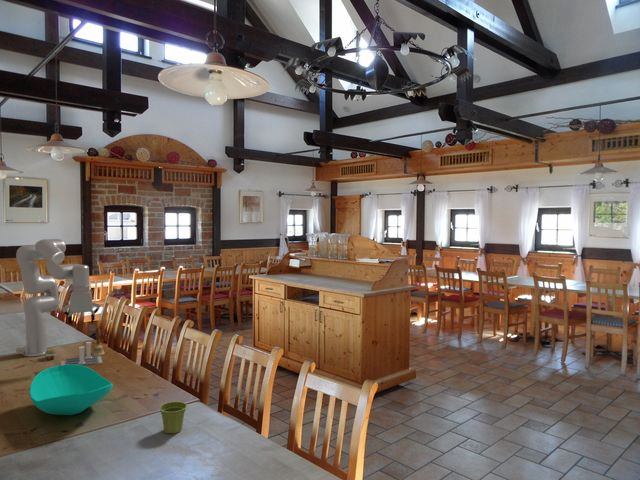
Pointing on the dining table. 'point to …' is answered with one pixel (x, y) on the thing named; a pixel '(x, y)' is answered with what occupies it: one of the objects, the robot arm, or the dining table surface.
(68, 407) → the table top decor
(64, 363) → the panel
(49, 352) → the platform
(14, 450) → the dining table surface
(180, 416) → the plant pot
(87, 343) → the handle
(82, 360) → the handle
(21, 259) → the robot arm
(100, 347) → the hand bell
